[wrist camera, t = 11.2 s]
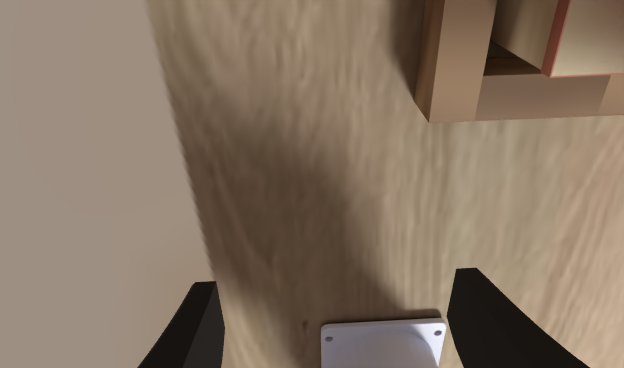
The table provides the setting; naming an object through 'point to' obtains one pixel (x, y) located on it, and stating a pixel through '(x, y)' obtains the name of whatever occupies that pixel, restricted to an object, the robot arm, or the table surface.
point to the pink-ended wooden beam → (563, 35)
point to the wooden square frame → (495, 74)
